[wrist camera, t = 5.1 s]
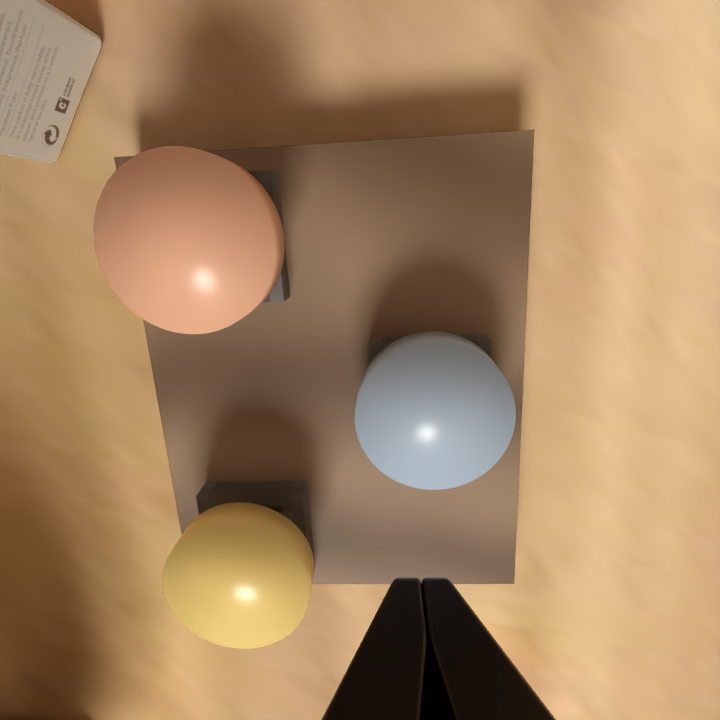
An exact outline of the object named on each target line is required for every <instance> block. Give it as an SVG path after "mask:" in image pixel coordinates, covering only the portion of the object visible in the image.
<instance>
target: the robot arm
mask: <svg viewBox="0 0 720 720" xmlns="http://www.w3.org/2000/svg"><path fill="white" fill-rule="evenodd" d="M322 720H556V719H555V718H554V717H553V715H552V714H551V713H550V711H549V710H548V709H547V707H546V706H545V705H544V704H543V702H542V701H541V700H540V698H539V697H538V696H537V694H536V693H535V692H534V690H533V689H532V688H531V686H530V685H529V684H528V682H527V681H526V680H525V679H524V677H523V676H522V675H521V673H520V672H519V671H518V669H517V668H516V667H515V665H514V664H513V663H512V661H511V660H510V659H509V657H508V656H507V655H506V654H505V652H504V651H503V650H502V648H501V647H500V646H499V644H498V643H497V642H496V640H495V639H494V638H493V636H492V635H491V634H490V632H489V631H488V630H487V629H486V627H485V626H484V625H483V623H482V622H481V621H480V619H479V618H478V617H477V615H476V614H475V613H474V611H473V610H472V609H471V607H470V606H469V605H468V604H467V602H466V601H465V600H464V598H463V597H462V596H461V594H460V593H459V592H458V590H457V589H456V588H455V586H454V585H453V584H452V582H451V581H450V580H449V579H447V578H445V577H426V578H424V579H423V580H422V583H421V581H420V579H419V578H416V577H414V578H396V579H394V580H393V582H392V584H391V586H390V588H389V590H388V592H387V593H386V595H385V597H384V599H383V601H382V603H381V605H380V607H379V609H378V611H377V613H376V615H375V617H374V619H373V621H372V623H371V625H370V626H369V628H368V630H367V632H366V634H365V636H364V638H363V640H362V642H361V644H360V646H359V648H358V650H357V652H356V654H355V656H354V657H353V659H352V661H351V663H350V665H349V667H348V669H347V671H346V673H345V675H344V677H343V679H342V681H341V683H340V685H339V687H338V689H337V690H336V692H335V694H334V696H333V698H332V700H331V702H330V704H329V706H328V708H327V710H326V712H325V714H324V716H323V718H322Z"/></svg>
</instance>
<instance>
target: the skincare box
mask: <svg viewBox="0 0 720 720" xmlns="http://www.w3.org/2000/svg"><path fill="white" fill-rule="evenodd" d="M101 45H102V41H101V39H100V37H99V36H98V35H97V34H95V33H94V32H92V31H90V30H89V29H87V28H86V27H84V26H83V25H81V24H80V23H79V22H77V21H76V20H74V19H73V18H71V17H70V16H68V15H67V14H65V13H64V12H62V11H60V10H59V9H57V8H56V7H54V6H53V5H51V4H50V3H48V2H47V1H45V0H0V154H5V155H10V156H15V157H21V158H26V159H31V160H36V161H42V162H47V163H55V162H56V161H57V160H58V157H59V155H60V152H61V150H62V147H63V145H64V142H65V140H66V137H67V134H68V132H69V129H70V127H71V124H72V121H73V118H74V115H75V113H76V110H77V108H78V105H79V103H80V100H81V97H82V94H83V92H84V89H85V87H86V84H87V82H88V79H89V77H90V74H91V72H92V69H93V67H94V64H95V62H96V59H97V57H98V54H99V51H100V49H101Z"/></svg>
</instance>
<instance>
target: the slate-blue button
mask: <svg viewBox="0 0 720 720" xmlns="http://www.w3.org/2000/svg"><path fill="white" fill-rule="evenodd" d="M515 421H516V407H515V401H514V396H513V393H512V390H511V388H510V386H509V384H508V382H507V380H506V378H505V377H504V375H503V374H502V372H501V371H500V370H499V368H498V367H497V366H496V364H495V363H494V361H493V360H492V359H491V358H490V357H489V355H488V354H487V353H486V352H485V351H484V350H482V349H481V348H480V347H479V346H477V345H476V344H474V343H473V342H471V341H469V340H467V339H465V338H463V337H461V336H458V335H454V334H451V333H445V332H433V331H429V332H420V333H415V334H411V335H408V336H405V337H402V338H400V339H398V340H396V341H394V342H392V343H391V344H389V345H388V346H386V347H385V348H384V349H383V350H381V351H380V352H379V353H378V354H377V355H376V356H375V357H374V359H373V360H372V361H371V362H370V364H369V365H368V367H367V368H366V370H365V372H364V374H363V377H362V379H361V382H360V385H359V390H358V395H357V401H356V407H355V427H356V432H357V436H358V440H359V442H360V444H361V447H362V449H363V451H364V452H365V454H366V455H367V457H368V458H369V460H370V461H371V462H372V463H373V464H374V465H375V466H376V467H377V468H378V469H379V470H380V471H381V472H382V473H384V474H385V475H386V476H388V477H390V478H391V479H393V480H395V481H397V482H399V483H402V484H404V485H407V486H410V487H414V488H419V489H426V490H441V489H449V488H454V487H458V486H461V485H464V484H466V483H469V482H471V481H473V480H475V479H477V478H478V477H480V476H482V475H483V474H485V473H486V472H487V471H488V470H490V469H491V468H492V467H493V466H494V465H495V464H496V463H497V462H498V461H499V459H500V458H501V457H502V455H503V454H504V452H505V451H506V449H507V447H508V446H509V443H510V441H511V438H512V436H513V432H514V428H515Z"/></svg>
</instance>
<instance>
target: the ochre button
mask: <svg viewBox="0 0 720 720" xmlns="http://www.w3.org/2000/svg"><path fill="white" fill-rule="evenodd" d="M313 576H314V558H313V553H312V550H311V547H310V545H309V543H308V541H307V539H306V537H305V536H304V534H303V533H302V532H301V531H300V529H299V528H298V527H297V526H296V525H295V524H294V523H293V522H292V521H290V520H289V519H288V518H286V517H285V516H284V515H282V514H280V513H278V512H277V511H275V510H272V509H270V508H268V507H265V506H261V505H258V504H252V503H243V502H235V503H226V504H221V505H218V506H215V507H212V508H210V509H208V510H206V511H204V512H203V513H201V514H200V515H198V516H197V517H196V518H195V519H194V520H193V521H192V522H191V523H190V524H189V526H188V527H187V528H186V530H185V531H184V533H183V534H182V536H181V537H180V539H179V540H178V542H177V543H176V545H175V547H174V548H173V550H172V551H171V553H170V554H169V556H168V558H167V560H166V563H165V565H164V570H163V579H162V583H163V590H164V594H165V598H166V600H167V602H168V605H169V607H170V608H171V610H172V612H173V613H174V614H175V616H176V617H177V618H178V620H179V621H180V622H181V623H182V624H183V625H184V626H185V627H187V628H188V629H189V630H190V631H192V632H193V633H195V634H196V635H198V636H199V637H201V638H203V639H205V640H207V641H210V642H212V643H215V644H218V645H221V646H225V647H231V648H241V649H248V648H258V647H263V646H267V645H270V644H273V643H275V642H277V641H279V640H281V639H283V638H284V637H286V636H287V635H288V634H290V633H291V632H292V631H293V630H294V629H295V628H296V627H297V626H298V624H299V623H300V621H301V620H302V618H303V616H304V614H305V611H306V608H307V604H308V600H309V595H310V590H311V586H312V581H313Z"/></svg>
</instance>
